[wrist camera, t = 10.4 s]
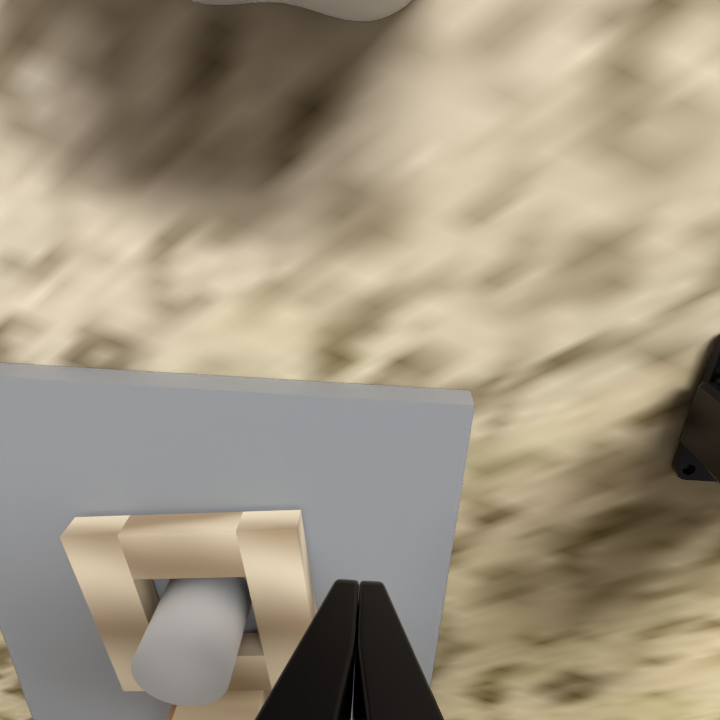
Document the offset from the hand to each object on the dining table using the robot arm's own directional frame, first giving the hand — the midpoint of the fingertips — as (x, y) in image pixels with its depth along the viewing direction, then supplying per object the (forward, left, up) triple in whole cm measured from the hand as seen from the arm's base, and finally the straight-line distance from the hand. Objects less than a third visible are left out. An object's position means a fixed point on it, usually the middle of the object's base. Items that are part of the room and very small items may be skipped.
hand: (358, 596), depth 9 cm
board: (+7, +13, -12) cm, 19 cm away
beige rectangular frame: (+7, +16, -11) cm, 20 cm away
